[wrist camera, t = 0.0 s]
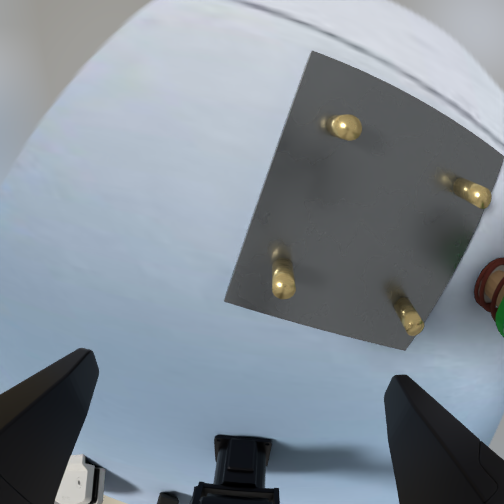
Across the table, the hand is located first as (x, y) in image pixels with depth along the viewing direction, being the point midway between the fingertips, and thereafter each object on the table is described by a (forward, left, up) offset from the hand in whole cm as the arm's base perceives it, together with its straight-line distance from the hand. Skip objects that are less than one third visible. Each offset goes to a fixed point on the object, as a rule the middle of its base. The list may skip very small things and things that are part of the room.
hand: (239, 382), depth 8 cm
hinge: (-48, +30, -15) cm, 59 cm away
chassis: (+1, -8, -15) cm, 17 cm away
